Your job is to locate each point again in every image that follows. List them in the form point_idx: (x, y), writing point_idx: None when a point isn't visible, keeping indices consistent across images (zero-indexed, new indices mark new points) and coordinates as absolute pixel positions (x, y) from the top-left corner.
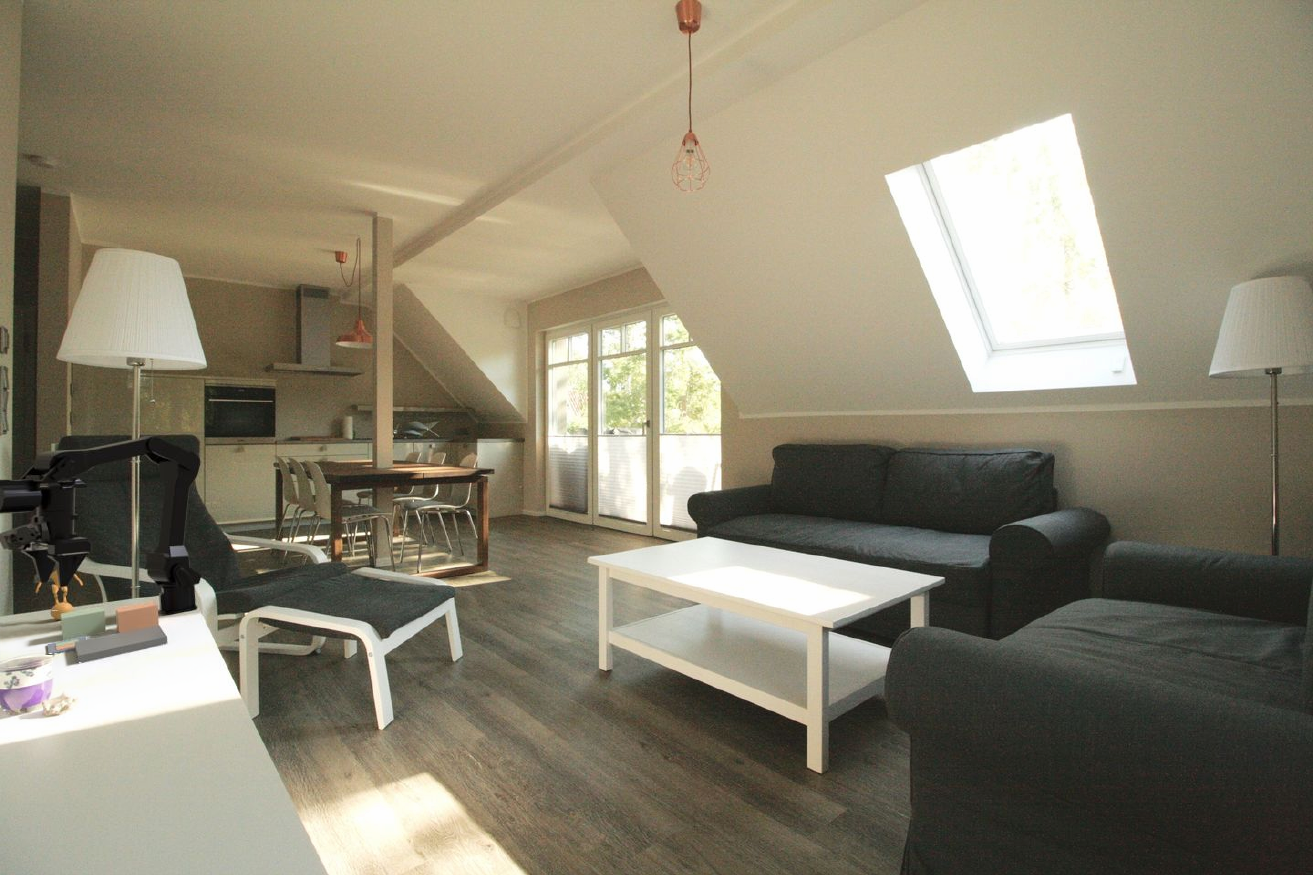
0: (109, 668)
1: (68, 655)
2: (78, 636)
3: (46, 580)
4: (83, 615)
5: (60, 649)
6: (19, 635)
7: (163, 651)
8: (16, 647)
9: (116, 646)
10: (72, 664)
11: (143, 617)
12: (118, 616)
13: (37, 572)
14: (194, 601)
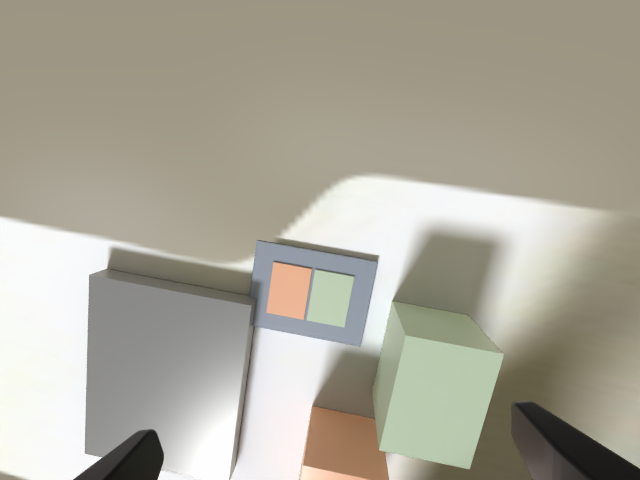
0: (3, 301)
1: (208, 271)
2: (384, 336)
3: (518, 441)
4: (390, 392)
5: (272, 270)
6: (615, 234)
7: (42, 410)
8: (449, 199)
9: (98, 356)
10: (110, 257)
11: None
12: (306, 452)
13: (633, 476)
14: None
